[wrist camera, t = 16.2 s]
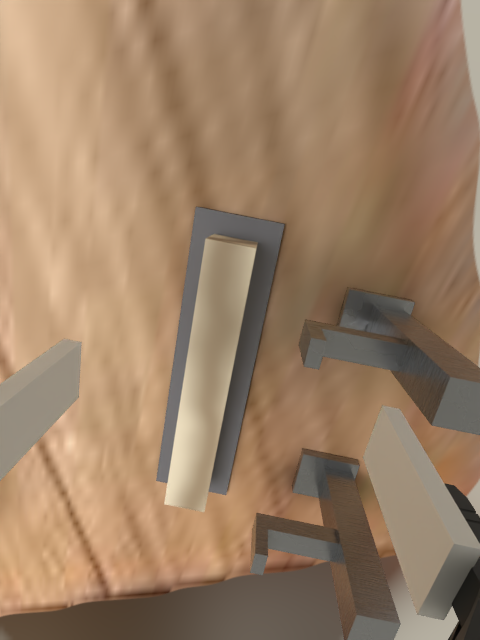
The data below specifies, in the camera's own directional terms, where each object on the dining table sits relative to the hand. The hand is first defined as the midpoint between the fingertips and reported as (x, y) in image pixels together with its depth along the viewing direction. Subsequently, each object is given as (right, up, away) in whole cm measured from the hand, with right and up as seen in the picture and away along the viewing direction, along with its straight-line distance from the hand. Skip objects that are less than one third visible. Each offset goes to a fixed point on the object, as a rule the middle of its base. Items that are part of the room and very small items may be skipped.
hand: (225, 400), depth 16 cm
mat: (-2, -1, +22) cm, 22 cm away
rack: (+10, -4, +22) cm, 24 cm away
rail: (-2, -1, +21) cm, 22 cm away
